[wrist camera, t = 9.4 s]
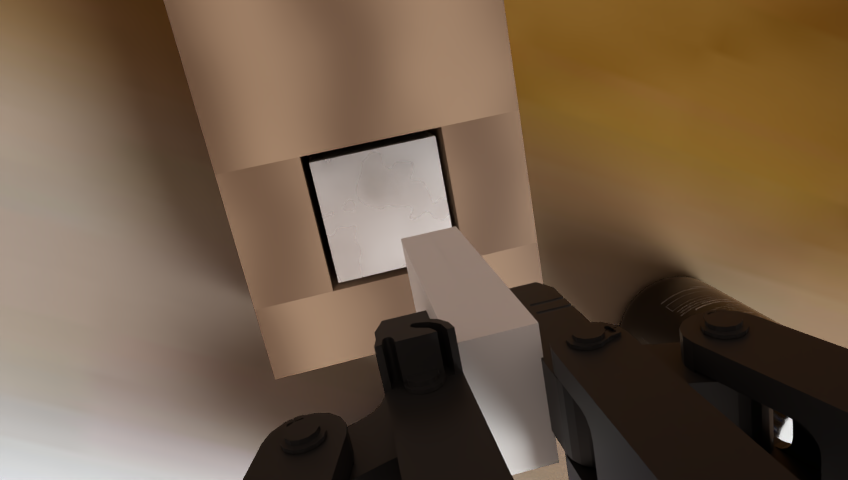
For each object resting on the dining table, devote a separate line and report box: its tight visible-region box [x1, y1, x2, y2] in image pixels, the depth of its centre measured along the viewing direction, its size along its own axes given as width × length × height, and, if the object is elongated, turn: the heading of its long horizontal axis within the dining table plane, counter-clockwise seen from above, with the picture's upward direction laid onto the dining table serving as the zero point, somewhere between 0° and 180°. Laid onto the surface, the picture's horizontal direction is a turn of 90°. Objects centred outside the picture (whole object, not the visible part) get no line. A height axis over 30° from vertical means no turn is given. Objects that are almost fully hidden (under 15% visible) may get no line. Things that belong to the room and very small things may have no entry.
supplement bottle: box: [620, 276, 793, 443], centre depth 32 cm, size 7×7×12 cm
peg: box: [309, 130, 452, 283], centre depth 28 cm, size 5×5×7 cm
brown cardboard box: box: [164, 0, 543, 380], centre depth 26 cm, size 12×24×8 cm, turn 11°
